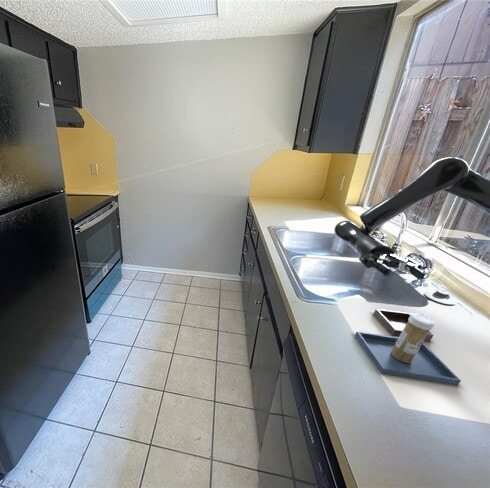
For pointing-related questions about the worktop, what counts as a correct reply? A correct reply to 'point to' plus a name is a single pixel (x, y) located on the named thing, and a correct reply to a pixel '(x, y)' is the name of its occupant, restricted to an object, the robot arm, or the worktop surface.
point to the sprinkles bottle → (412, 337)
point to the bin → (395, 322)
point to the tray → (420, 367)
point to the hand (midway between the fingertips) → (405, 274)
